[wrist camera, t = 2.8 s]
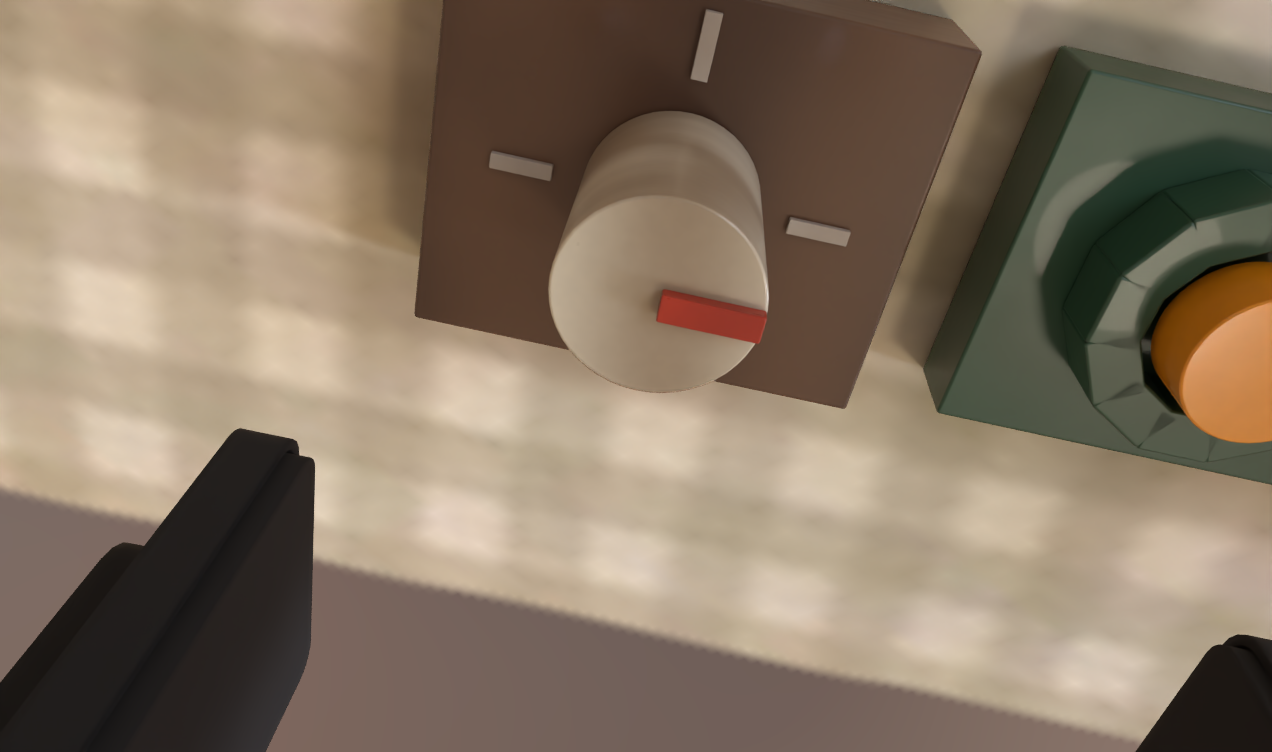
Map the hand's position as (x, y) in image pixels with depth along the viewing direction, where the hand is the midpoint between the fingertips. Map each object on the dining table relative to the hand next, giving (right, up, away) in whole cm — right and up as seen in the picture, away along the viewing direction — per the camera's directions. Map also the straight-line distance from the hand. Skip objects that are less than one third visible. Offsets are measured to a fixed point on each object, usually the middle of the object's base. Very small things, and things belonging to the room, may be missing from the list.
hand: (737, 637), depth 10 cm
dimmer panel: (0, +8, +14) cm, 17 cm away
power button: (+12, +4, +12) cm, 17 cm away
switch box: (+13, +6, +15) cm, 20 cm away
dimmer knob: (0, +7, +12) cm, 14 cm away
